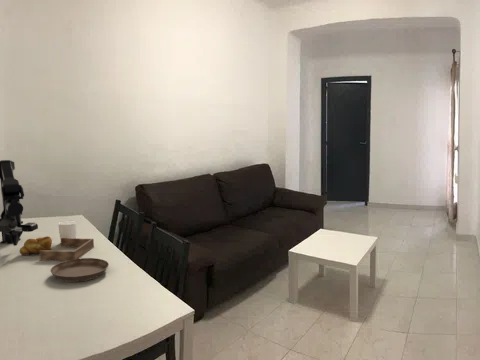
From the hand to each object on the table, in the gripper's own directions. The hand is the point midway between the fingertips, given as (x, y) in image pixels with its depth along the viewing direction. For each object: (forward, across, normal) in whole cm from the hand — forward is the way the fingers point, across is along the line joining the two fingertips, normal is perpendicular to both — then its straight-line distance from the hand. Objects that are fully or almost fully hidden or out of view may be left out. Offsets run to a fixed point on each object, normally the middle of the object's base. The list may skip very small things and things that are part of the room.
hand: (15, 245), depth 173 cm
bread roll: (+3, +10, 0) cm, 10 cm away
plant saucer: (+4, +40, -23) cm, 46 cm away
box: (+3, +24, 0) cm, 24 cm away
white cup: (+3, +17, +15) cm, 23 cm away
